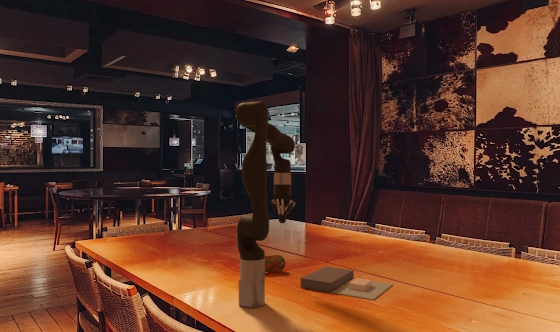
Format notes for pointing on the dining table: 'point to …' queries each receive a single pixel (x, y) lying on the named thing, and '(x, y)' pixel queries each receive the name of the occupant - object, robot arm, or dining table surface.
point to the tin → (274, 263)
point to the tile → (360, 284)
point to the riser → (327, 279)
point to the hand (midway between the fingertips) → (282, 223)
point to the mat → (369, 294)
